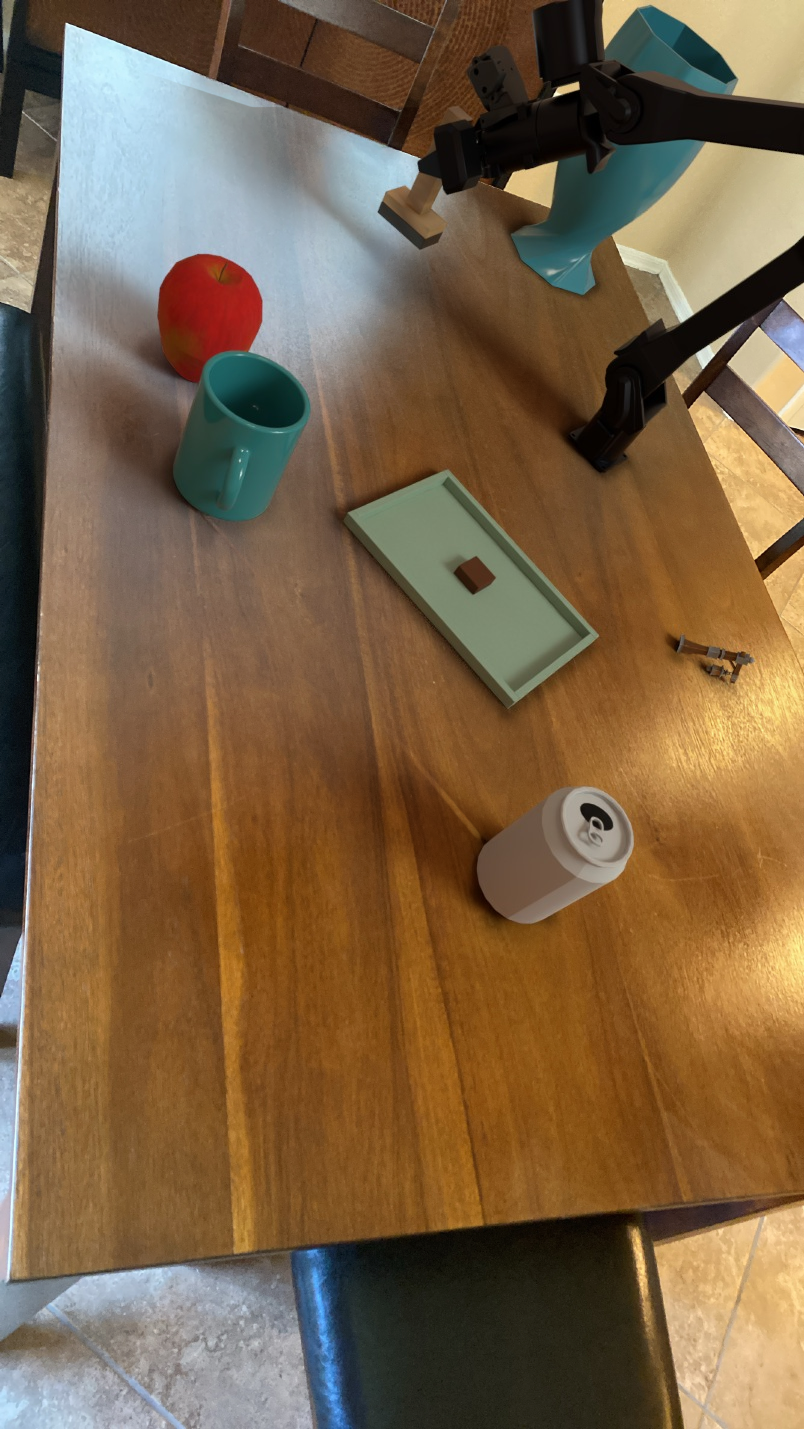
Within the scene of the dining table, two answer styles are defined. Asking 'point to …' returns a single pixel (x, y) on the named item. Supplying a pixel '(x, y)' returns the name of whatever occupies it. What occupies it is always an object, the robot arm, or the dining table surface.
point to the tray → (482, 627)
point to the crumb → (474, 575)
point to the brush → (419, 200)
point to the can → (555, 854)
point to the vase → (622, 157)
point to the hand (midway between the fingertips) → (424, 164)
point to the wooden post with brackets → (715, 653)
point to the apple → (206, 312)
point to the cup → (239, 435)
